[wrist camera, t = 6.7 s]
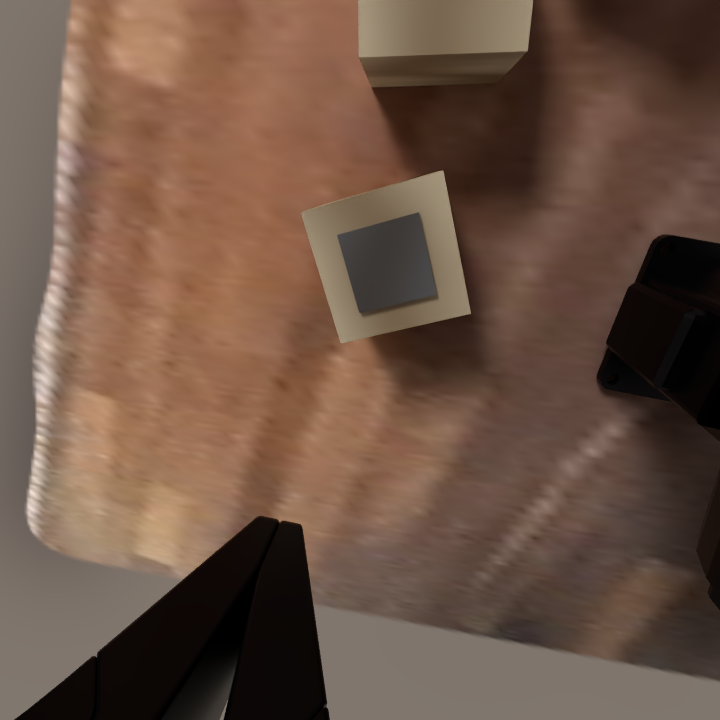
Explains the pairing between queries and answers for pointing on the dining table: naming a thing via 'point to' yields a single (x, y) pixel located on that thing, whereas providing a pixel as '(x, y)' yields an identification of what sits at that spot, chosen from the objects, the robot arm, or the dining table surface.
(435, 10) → the plain block
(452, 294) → the labelled block
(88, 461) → the dining table surface
